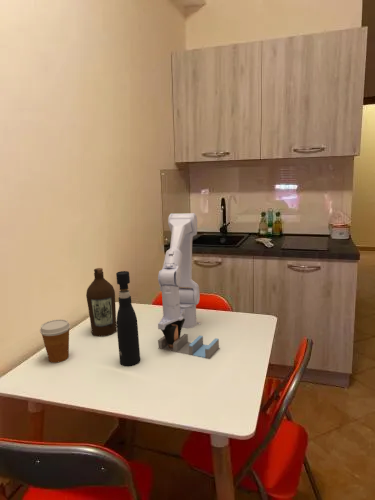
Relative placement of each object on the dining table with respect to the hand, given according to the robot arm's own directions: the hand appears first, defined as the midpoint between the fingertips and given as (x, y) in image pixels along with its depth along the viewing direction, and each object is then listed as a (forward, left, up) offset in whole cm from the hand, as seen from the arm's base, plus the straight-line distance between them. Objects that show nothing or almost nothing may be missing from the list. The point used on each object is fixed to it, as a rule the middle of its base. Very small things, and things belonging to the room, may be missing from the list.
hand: (173, 341), depth 128 cm
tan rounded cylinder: (0, 0, -1) cm, 1 cm away
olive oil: (-32, +2, -3) cm, 32 cm away
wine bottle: (-7, -15, -3) cm, 17 cm away
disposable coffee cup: (-32, -21, -3) cm, 39 cm away
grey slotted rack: (+6, 0, -2) cm, 6 cm away
